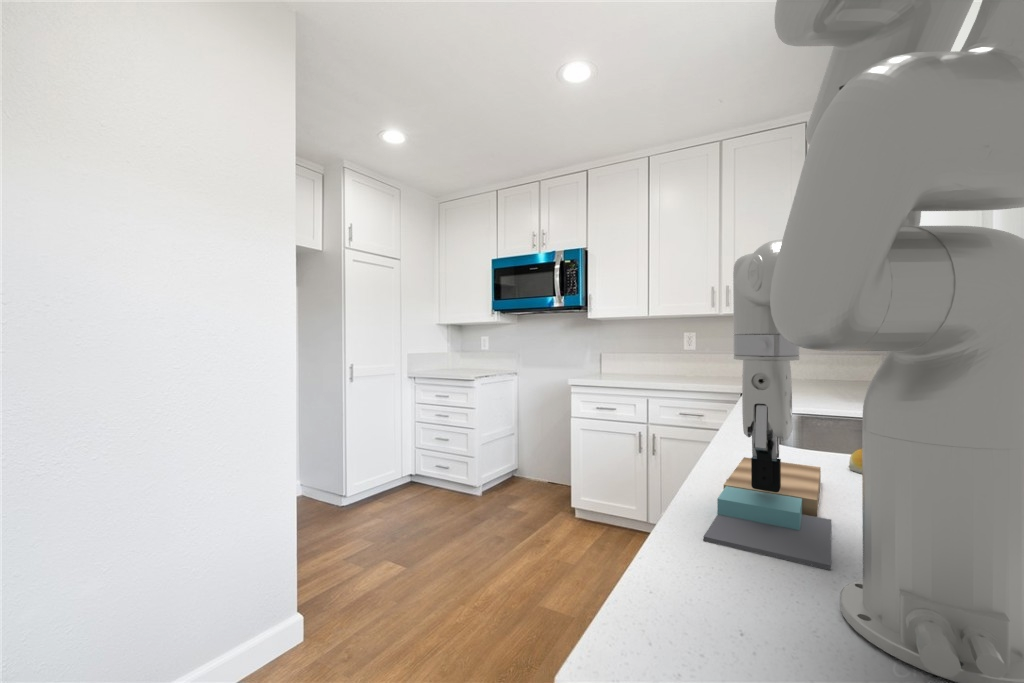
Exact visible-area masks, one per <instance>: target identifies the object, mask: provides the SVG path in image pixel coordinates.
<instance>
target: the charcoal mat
mask: <svg viewBox="0 0 1024 683" xmlns="http://www.w3.org/2000/svg"><path fill="white" fill-rule="evenodd" d="M702 539H703V542H708V543H712V544H717V545H719V546H725V547H728V548H733V549H737V550H742V551H745V552H746V551H747V552H751V553H755V554H758V555H763V556H768V557H770V558H771V557H772V558H776V559H781V560H785V561H790V562H794V563H797V564H802V565H807V566H811V567H815V568H819V569H824V570H827V571H831V570H832V569H831V566H832V557H831V556H832V519H830V518H827V517H826V518H825V517H819V516H817V517H815V516H809V515H803V514H802V518H801V525H800V530H796V529H791V528H786V527H781V526H775V525H770V524H765V523H760V522H755V521H750V520H745V519H740V518H735V517H729V516H724V515H719V514H717V515H716V516H715V518H714V519H713V521H712V522H711V524H710V526H709V527H708V529H707V530H706V532H705V533H704V535H703V538H702Z"/></svg>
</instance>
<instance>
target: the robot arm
mask: <svg viewBox="0 0 1024 683" xmlns="http://www.w3.org/2000/svg"><path fill="white" fill-rule="evenodd" d="M973 3H974V0H776V2H775V7H774V29H775V32H776V35H777V37H778V39H779V40H780V41H781V42H782V43H784V45H785V44H786V45H788V46H791V47H832V50H831V54H830V56H829V60H828V62H827V67H826V68H825V72H824V74H823V77H822V81H821V84H820V86H819V89H818V93H817V96H816V98H815V102H814V105H813V108H812V110H811V113H810V117H809V120H808V122H807V125H806V128H805V136H804V137H805V140H806V142H807V143H808V145H809V147H808V148H807V153H806V156H805V158H804V161H803V165H802V169H801V172H800V175H799V179H798V182H797V187H796V190H795V194H794V197H793V201H792V205H791V208H790V211H789V216H788V218H787V222H786V226H785V230H784V233H783V236H782V239H775V240H771V241H767V242H765V243H763V244H761V245H760V246H759V247H758V248H757V249H756V250H754V252H752V253H749V254H744V255H741V256H740V257H739V258H737V259H736V261H735V262H734V265H733V273H732V274H733V275H732V277H733V280H732V282H733V283H732V285H733V288H732V289H733V291H732V292H733V295H732V296H733V298H732V299H733V308H732V309H733V310H732V311H733V359H734V360H738V361H742V375H741V377H742V379H741V380H742V382H741V383H742V384H741V385H742V387H741V388H742V389H741V391H742V393H741V397H742V398H741V399H742V400H741V401H742V403H741V404H742V406H741V407H742V410H741V411H742V430H743V434H744V435H745V436H746V437H747V438H751V453H752V456H751V457H750V458H751V486H752V488H754V489H758V490H764V491H771V492H779V490H780V488H781V462H782V461H781V460H782V459H781V458H780V439H781V442H786V441H788V440H789V439H790V437H791V435H792V433H793V430H794V429H793V428H794V427H793V426H794V425H793V424H794V423H793V422H794V421H793V390H792V389H793V387H792V386H793V385H792V369H791V361H794V362H795V361H800V348H802V349H807V350H810V351H817V352H819V351H820V352H839V353H840V352H888V353H887V354H886V356H885V358H884V360H883V361H882V362H881V364H880V366H879V367H878V369H877V370H876V371H875V373H874V376H873V377H872V379H871V381H870V383H869V384H868V388H866V389H867V390H866V393H865V396H864V399H863V404H862V406H863V407H862V427H861V428H862V431H861V433H862V434H861V435H862V436H861V437H862V438H861V439H862V440H861V441H862V442H861V443H862V444H861V445H862V446H861V447H862V448H861V449H862V474H861V476H862V478H861V479H862V480H861V481H862V484H861V485H862V489H861V490H862V491H861V492H862V493H861V494H862V496H861V497H862V500H861V501H862V504H861V505H862V508H861V509H862V579H861V580H857V581H853V582H851V583H848V584H847V585H845V586H844V587H843V588H842V590H841V591H840V593H839V594H840V596H839V608H840V611H841V614H842V615H843V617H844V618H845V620H846V622H847V623H848V624H849V625H850V626H851V627H852V628H853V629H854V631H856V632H857V633H858V634H859V635H861V636H862V638H864V639H866V641H868V642H870V643H871V644H872V645H874V646H875V647H877V648H879V649H880V650H881V651H883V652H885V653H887V654H889V655H890V656H892V657H895V658H896V659H898V660H900V661H901V662H904V663H906V664H907V665H911V666H913V667H914V668H917V669H919V670H921V671H923V672H926V673H929V674H930V675H931V674H932V675H933V676H937V677H938V678H939V677H940V678H942V679H945V680H948V681H950V682H953V683H1024V238H1023V237H1021V236H1018V235H1016V234H1014V233H1011V232H1009V231H1004V230H1001V229H997V228H989V227H986V226H975V225H974V226H973V225H920V224H921V218H922V212H969V211H970V212H975V211H976V212H977V211H979V212H980V211H999V210H1009V209H1010V210H1011V209H1019V208H1020V209H1021V208H1022V209H1023V208H1024V0H982V1H981V4H980V6H979V9H978V12H977V15H976V17H975V19H974V21H973V24H972V27H971V29H970V32H969V33H968V35H967V37H966V40H965V41H964V43H963V45H962V47H961V49H960V50H958V51H956V50H955V51H952V49H953V47H954V45H955V42H956V41H957V38H958V36H959V33H960V31H961V29H962V27H963V25H964V22H965V21H966V18H967V17H968V14H969V12H970V9H971V7H972V6H973Z"/></svg>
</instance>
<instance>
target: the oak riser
mask: <svg viewBox="0 0 1024 683" xmlns="http://www.w3.org/2000/svg"><path fill="white" fill-rule="evenodd" d="M751 458H752V457H743V458H742V459H741V461H739V464H738V465H737V466H736V467H735V468H734V470H733V471H732V472H731V474H730V476H728V478H727V479H726V481H725V482H724V483H723V489H724V488H725V487H726V486H728V487H734V488H740V489H746V490H752V491H759V492H765V493H771V494H777V495H783V496H790V497H796V498H802V514H803V515H809V516H815V517H818V515H819V514H818V513H819V503H820V502H819V501H820V490H821V483H822V482H821V481H822V480H821V477H822V476H821V474H822V473H821V466H815V465H807V464H797V463H791V462H786V461H785V462H783V461H781V488H780V490H779V492H771V491H764V490H758V489H754V488H752V486H751Z"/></svg>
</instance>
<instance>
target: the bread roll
mask: <svg viewBox="0 0 1024 683" xmlns="http://www.w3.org/2000/svg"><path fill="white" fill-rule="evenodd" d="M848 468H849V470H850V471H852V472H854V473H858V474H861V475H862V448H859V449H857V450H855V451H853V453H851V454H850V457H849V465H848Z"/></svg>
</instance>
